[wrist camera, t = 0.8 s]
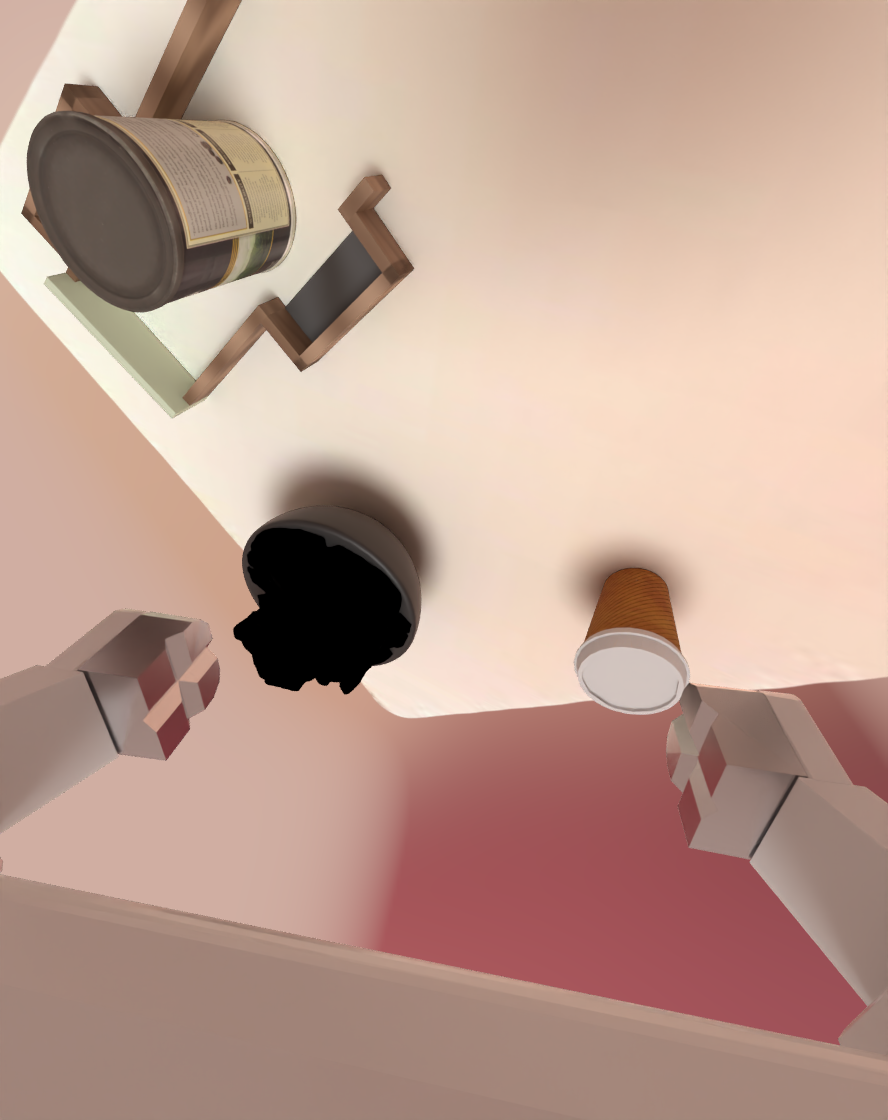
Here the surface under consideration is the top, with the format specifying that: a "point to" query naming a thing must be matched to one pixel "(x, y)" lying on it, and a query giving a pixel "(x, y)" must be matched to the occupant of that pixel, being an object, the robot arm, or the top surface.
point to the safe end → (127, 343)
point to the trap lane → (369, 250)
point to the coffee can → (158, 204)
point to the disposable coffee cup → (633, 647)
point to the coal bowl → (327, 597)
